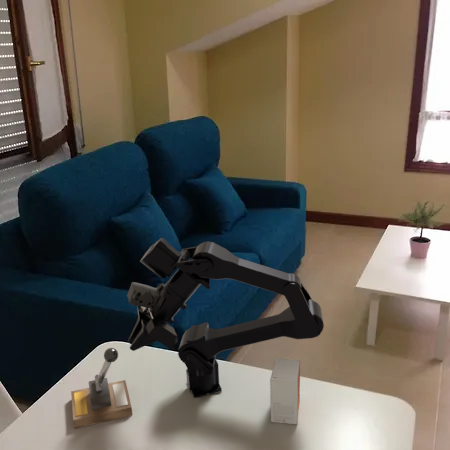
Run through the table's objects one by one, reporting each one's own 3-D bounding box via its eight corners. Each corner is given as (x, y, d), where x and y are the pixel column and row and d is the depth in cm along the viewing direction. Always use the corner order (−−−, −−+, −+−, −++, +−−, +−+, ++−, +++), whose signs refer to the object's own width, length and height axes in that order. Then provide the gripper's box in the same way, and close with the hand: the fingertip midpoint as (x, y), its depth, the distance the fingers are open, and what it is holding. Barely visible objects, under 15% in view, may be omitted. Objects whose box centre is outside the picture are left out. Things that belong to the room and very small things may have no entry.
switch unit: (126, 387, 124) (123, 368, 122) (132, 414, 115) (130, 395, 113) (72, 398, 120) (69, 380, 119) (74, 428, 111) (71, 408, 110)
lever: (102, 380, 118) (119, 344, 117) (105, 394, 114) (121, 357, 112) (89, 377, 117) (105, 341, 116) (91, 391, 113) (108, 353, 111)
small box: (297, 425, 110) (298, 382, 106) (270, 422, 111) (269, 379, 107) (300, 400, 117) (300, 359, 114) (274, 398, 118) (274, 356, 115)
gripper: (141, 254, 119) (96, 307, 120) (156, 290, 102) (104, 351, 103) (178, 280, 124) (135, 331, 125) (199, 319, 107) (148, 377, 108)
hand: (130, 346), depth 115 cm, fingers closed
